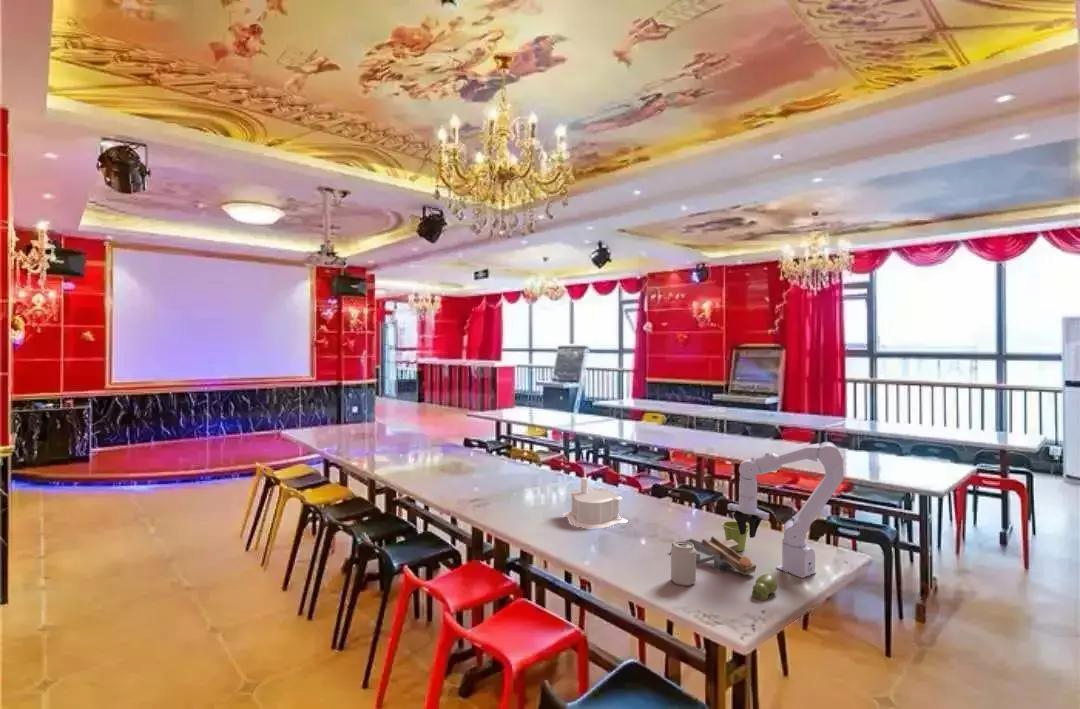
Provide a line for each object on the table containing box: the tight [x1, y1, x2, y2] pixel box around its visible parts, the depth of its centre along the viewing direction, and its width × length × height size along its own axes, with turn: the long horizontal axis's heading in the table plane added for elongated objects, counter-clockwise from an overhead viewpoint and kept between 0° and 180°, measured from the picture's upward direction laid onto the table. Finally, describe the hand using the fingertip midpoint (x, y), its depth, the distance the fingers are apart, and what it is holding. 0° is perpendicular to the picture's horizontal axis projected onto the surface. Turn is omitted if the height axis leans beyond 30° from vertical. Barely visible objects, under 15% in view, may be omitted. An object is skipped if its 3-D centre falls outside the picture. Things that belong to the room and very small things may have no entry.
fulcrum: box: [708, 550, 737, 574], centre depth 186 cm, size 6×9×5 cm, turn 123°
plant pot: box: [721, 520, 749, 552], centre depth 202 cm, size 9×9×9 cm
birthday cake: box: [562, 467, 628, 528], centre depth 237 cm, size 30×29×22 cm
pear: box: [751, 573, 778, 601], centre depth 165 cm, size 6×5×10 cm
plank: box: [701, 535, 757, 576], centre depth 187 cm, size 18×13×2 cm
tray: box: [671, 538, 714, 564], centre depth 196 cm, size 12×10×3 cm
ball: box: [740, 556, 752, 568], centre depth 179 cm, size 4×4×4 cm
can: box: [670, 540, 697, 587], centre depth 173 cm, size 8×8×12 cm
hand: (747, 535), depth 189 cm, fingers open, 3 cm apart
